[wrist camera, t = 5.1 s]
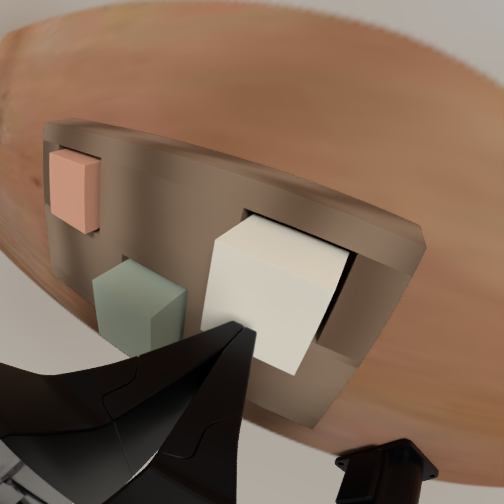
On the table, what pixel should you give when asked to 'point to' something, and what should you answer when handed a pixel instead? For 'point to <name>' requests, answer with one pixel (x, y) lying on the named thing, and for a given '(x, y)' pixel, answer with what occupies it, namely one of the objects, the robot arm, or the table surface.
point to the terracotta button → (75, 188)
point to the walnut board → (219, 222)
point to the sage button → (138, 308)
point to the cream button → (272, 287)
